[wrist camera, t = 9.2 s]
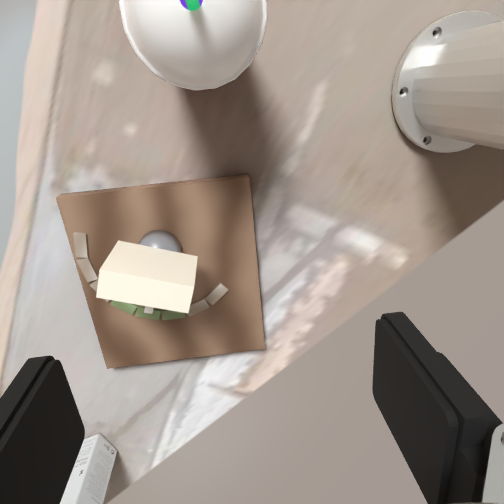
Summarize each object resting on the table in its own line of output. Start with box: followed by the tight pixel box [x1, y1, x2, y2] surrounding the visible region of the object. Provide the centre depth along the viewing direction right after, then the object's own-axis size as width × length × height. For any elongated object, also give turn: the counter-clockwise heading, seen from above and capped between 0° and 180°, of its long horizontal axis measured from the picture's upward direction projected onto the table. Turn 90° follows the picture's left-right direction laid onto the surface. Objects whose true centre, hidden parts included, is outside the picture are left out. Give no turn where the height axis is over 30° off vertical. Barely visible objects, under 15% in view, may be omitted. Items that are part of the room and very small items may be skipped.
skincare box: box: [60, 434, 117, 504], centre depth 47 cm, size 6×4×12 cm
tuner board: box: [56, 174, 265, 369], centre depth 42 cm, size 19×21×2 cm
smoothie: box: [119, 0, 268, 91], centre depth 25 cm, size 8×8×20 cm
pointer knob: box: [96, 230, 198, 314], centre depth 37 cm, size 10×8×9 cm
